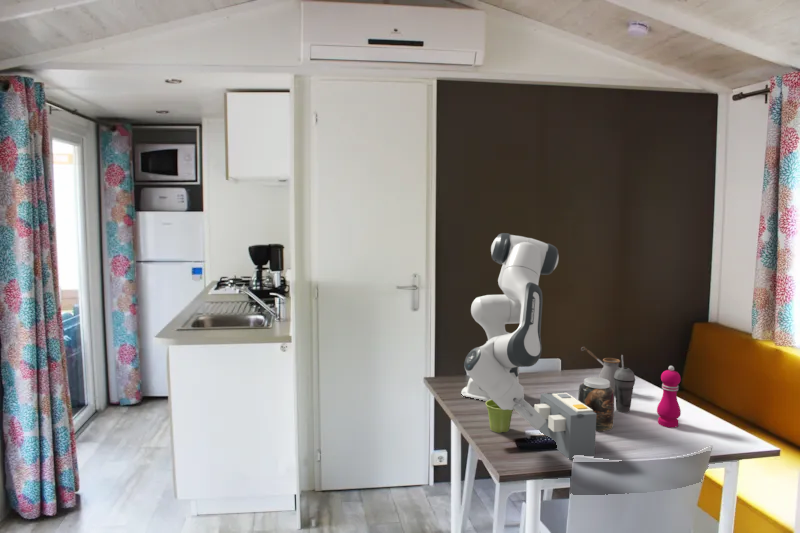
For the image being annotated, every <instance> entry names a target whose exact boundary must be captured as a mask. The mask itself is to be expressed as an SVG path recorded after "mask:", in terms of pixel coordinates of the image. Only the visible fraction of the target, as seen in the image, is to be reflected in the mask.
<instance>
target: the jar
mask: <svg viewBox="0 0 800 533" xmlns="http://www.w3.org/2000/svg"><path fill="white" fill-rule="evenodd" d="M577 396H578V397H577V400H578V401H580V402H581V403H583V404H585V405H586V406H588V407H589V408H591V409H592V410H593V412H595V413H596V414H597V416H596V432H605V431H610V430H612V429H613V428H614V420H615V419H614V416H615V415H614V414H615V392H614V388H613V387H612V386H610V381H609V380H607V379H604V378H599V377H597V376H589V377H585V378H584V380H583V383H580V385H579V387H578V395H577Z"/></svg>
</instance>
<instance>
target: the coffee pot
mask: <svg viewBox="0 0 800 533" xmlns="http://www.w3.org/2000/svg"><path fill="white" fill-rule="evenodd" d="M580 351H581V352H582V351H585V352H587V353H588V354H589V356H591V357H592V358H593V359H595V360H596V361H598V362H599V363H600V364H601V365H602V366H603V367H602V369H601V371H600V372H599V374H598V377H599V378H604V379H607V380H609V381H610V386H612V387H613V388H614V392H615V383H614V375H615V372H616V371H617V370H618V369H619V368H620V367H619V366H620V363H621V360H620V359H618V358H615V357H605V358H603V359H602V360H601V359H600V358H599V357H597V356H596V355H595V353H593V352H592V351H591V350H589V349H588V348H586V346H582V347H581V348H580Z"/></svg>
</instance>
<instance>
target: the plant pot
mask: <svg viewBox="0 0 800 533" xmlns="http://www.w3.org/2000/svg"><path fill="white" fill-rule="evenodd" d="M485 406H486V409H487V414H488V421H489V430H490V431H492V432H493V433H494V432H495V433H497V434H501V433H507V432H509V431H510V428H511V422H512V416H513V412H514V409H513V410H508V409H507V410H503V409H501V408H500V407H499V406H498V405H497V404H496V403H495V402H494V401H493V400H488V401H485Z"/></svg>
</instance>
